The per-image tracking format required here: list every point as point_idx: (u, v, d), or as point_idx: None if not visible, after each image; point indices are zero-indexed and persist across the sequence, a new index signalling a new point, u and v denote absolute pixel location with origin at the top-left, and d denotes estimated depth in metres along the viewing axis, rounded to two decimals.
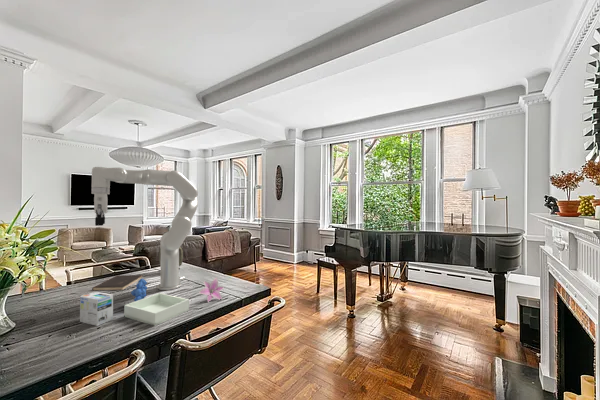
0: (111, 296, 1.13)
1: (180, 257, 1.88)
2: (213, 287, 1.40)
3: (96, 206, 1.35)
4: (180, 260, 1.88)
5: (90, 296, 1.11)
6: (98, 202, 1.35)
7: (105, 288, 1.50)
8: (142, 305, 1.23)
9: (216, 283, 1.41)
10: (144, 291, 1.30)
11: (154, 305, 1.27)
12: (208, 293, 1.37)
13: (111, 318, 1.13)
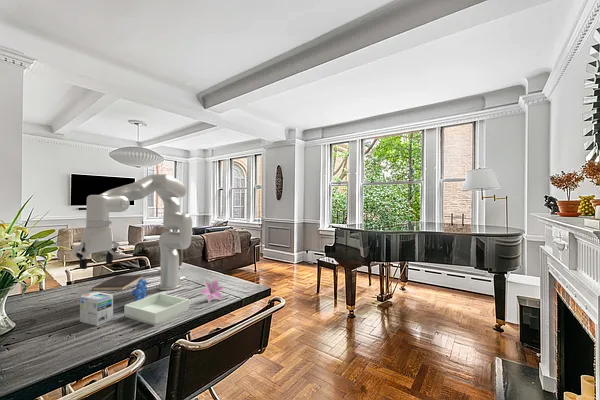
0: (111, 296, 1.13)
1: (180, 257, 1.88)
2: (213, 287, 1.40)
3: None
4: (180, 260, 1.88)
5: (90, 296, 1.11)
6: None
7: (105, 288, 1.50)
8: (142, 305, 1.23)
9: (216, 283, 1.41)
10: (144, 291, 1.30)
11: (154, 305, 1.27)
12: (208, 293, 1.37)
13: (111, 318, 1.13)
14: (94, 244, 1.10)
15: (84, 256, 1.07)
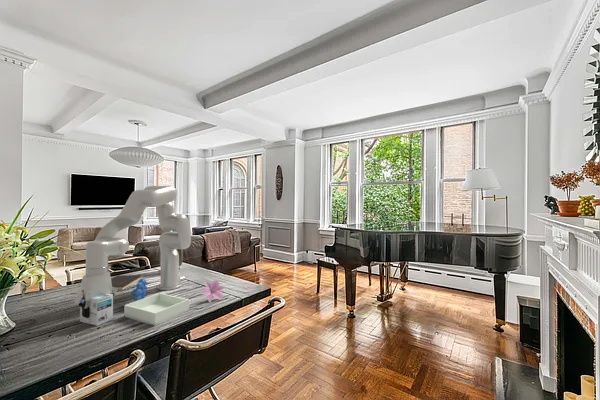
0: (111, 296, 1.13)
1: (180, 257, 1.88)
2: (214, 287, 1.40)
3: None
4: (180, 260, 1.88)
5: None
6: None
7: None
8: (142, 305, 1.23)
9: (217, 283, 1.41)
10: (144, 291, 1.30)
11: (154, 305, 1.27)
12: (209, 293, 1.37)
13: (111, 318, 1.13)
14: (94, 291, 1.10)
15: (86, 305, 1.08)
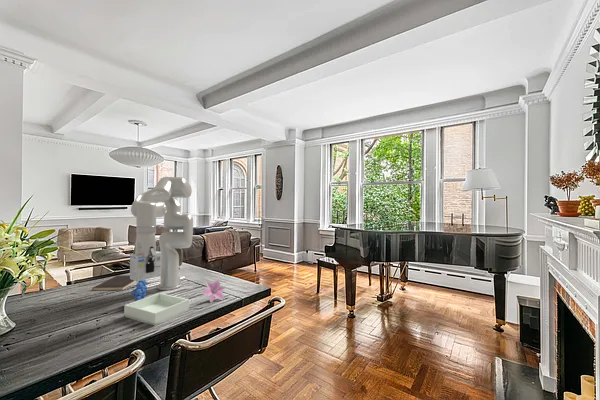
0: None
1: (180, 257, 1.88)
2: (215, 287, 1.40)
3: None
4: (180, 260, 1.88)
5: None
6: None
7: (105, 288, 1.50)
8: (142, 305, 1.23)
9: (218, 284, 1.41)
10: (144, 291, 1.30)
11: (154, 305, 1.27)
12: (210, 293, 1.37)
13: None
14: None
15: None
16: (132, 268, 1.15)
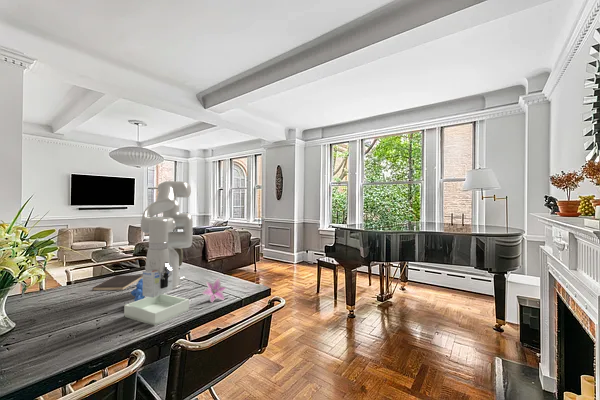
0: None
1: (180, 257, 1.88)
2: (215, 287, 1.40)
3: None
4: (180, 260, 1.88)
5: None
6: None
7: (105, 288, 1.50)
8: (142, 305, 1.23)
9: (218, 284, 1.41)
10: None
11: (154, 305, 1.27)
12: (211, 293, 1.37)
13: None
14: None
15: None
16: (146, 285, 1.16)
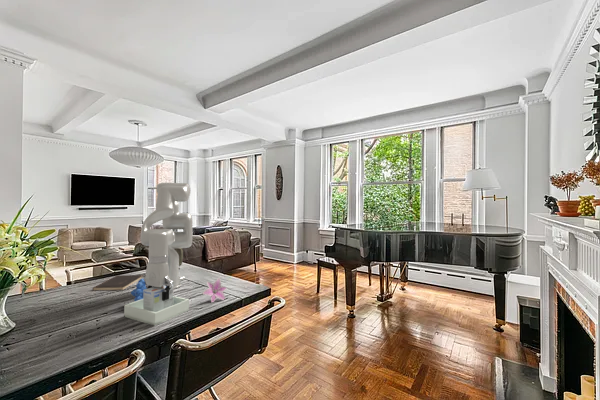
0: None
1: (180, 257, 1.88)
2: (216, 287, 1.40)
3: None
4: (180, 260, 1.88)
5: (161, 288, 1.19)
6: None
7: (105, 288, 1.50)
8: (142, 305, 1.23)
9: (219, 284, 1.41)
10: None
11: None
12: (211, 294, 1.36)
13: None
14: None
15: None
16: (147, 303, 1.16)
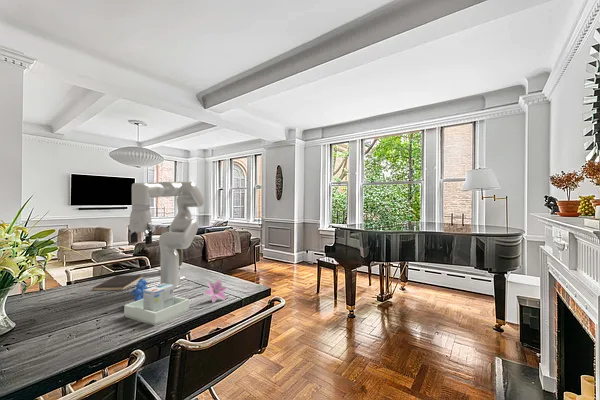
0: None
1: (180, 257, 1.88)
2: (217, 287, 1.40)
3: None
4: (180, 260, 1.88)
5: (161, 288, 1.19)
6: None
7: (105, 288, 1.50)
8: (142, 305, 1.23)
9: (219, 284, 1.41)
10: None
11: None
12: (212, 294, 1.36)
13: None
14: None
15: None
16: (147, 303, 1.16)
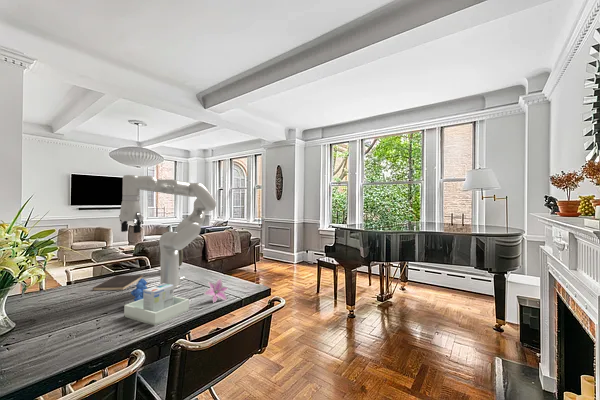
0: None
1: (180, 257, 1.88)
2: (217, 288, 1.40)
3: None
4: (180, 260, 1.88)
5: (161, 288, 1.19)
6: None
7: (105, 288, 1.50)
8: (142, 305, 1.23)
9: (220, 284, 1.41)
10: None
11: None
12: (213, 294, 1.36)
13: None
14: None
15: None
16: (147, 303, 1.16)
